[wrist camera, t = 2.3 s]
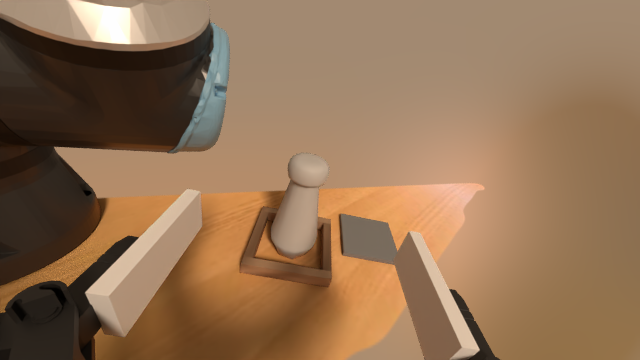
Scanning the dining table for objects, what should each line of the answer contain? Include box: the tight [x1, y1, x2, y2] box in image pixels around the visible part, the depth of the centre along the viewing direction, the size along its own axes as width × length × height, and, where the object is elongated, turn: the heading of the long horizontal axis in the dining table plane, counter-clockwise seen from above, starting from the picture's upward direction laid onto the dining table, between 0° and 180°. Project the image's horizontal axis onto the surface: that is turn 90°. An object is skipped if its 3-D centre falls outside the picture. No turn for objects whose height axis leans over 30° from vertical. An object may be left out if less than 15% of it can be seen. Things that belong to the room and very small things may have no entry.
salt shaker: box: [271, 153, 329, 259], centre depth 27 cm, size 6×6×13 cm
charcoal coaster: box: [340, 214, 397, 265], centre depth 34 cm, size 8×8×1 cm
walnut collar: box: [240, 206, 332, 287], centre depth 30 cm, size 10×10×2 cm
